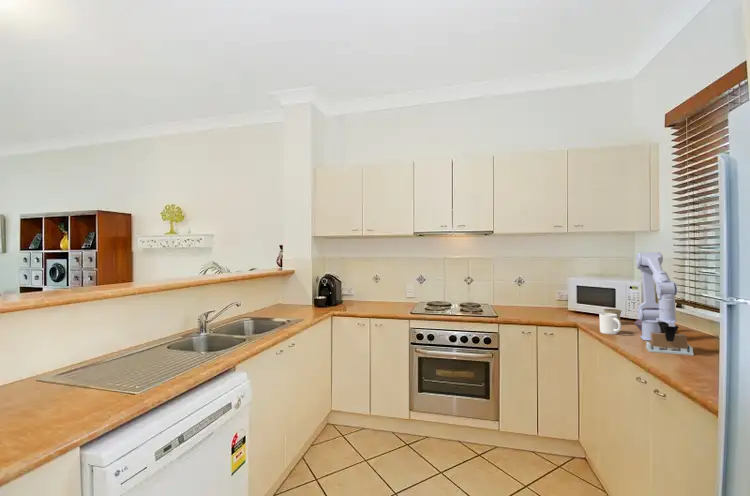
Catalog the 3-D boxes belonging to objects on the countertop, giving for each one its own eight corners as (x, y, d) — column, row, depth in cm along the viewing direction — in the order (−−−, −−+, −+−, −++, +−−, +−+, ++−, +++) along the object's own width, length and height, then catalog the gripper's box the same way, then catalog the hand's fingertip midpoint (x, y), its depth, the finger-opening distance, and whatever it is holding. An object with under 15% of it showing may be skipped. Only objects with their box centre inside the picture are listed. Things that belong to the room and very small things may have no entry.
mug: (627, 335, 189) (626, 316, 189) (614, 336, 188) (613, 317, 188) (609, 331, 201) (608, 312, 201) (596, 331, 199) (595, 313, 200)
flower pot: (601, 322, 224) (600, 308, 225) (618, 322, 223) (617, 308, 223) (608, 325, 215) (607, 311, 215) (625, 325, 213) (624, 311, 213)
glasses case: (651, 344, 163) (650, 332, 163) (684, 346, 157) (684, 334, 157) (652, 346, 160) (652, 334, 160) (687, 348, 154) (686, 336, 154)
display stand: (646, 347, 165) (645, 341, 165) (688, 351, 158) (688, 344, 158) (649, 351, 159) (649, 344, 159) (693, 355, 152) (693, 347, 152)
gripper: (652, 306, 167) (653, 335, 167) (659, 311, 154) (661, 342, 154) (671, 307, 164) (672, 336, 163) (680, 312, 151) (682, 344, 151)
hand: (668, 339), depth 158 cm, fingers open, 5 cm apart
